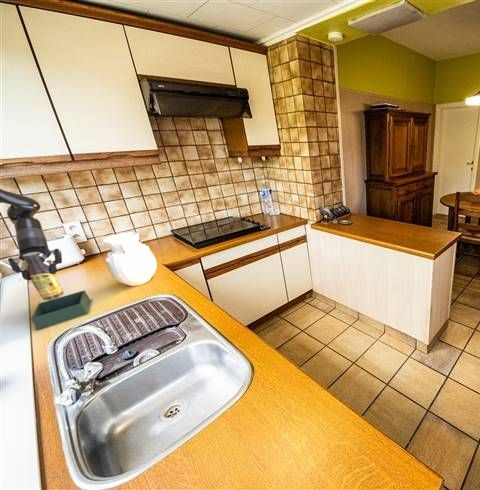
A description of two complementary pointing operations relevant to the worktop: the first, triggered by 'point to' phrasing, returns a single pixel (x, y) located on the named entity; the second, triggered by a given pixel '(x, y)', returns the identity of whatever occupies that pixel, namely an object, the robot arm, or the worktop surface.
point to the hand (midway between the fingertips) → (41, 276)
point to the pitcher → (129, 259)
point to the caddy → (60, 309)
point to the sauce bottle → (42, 277)
